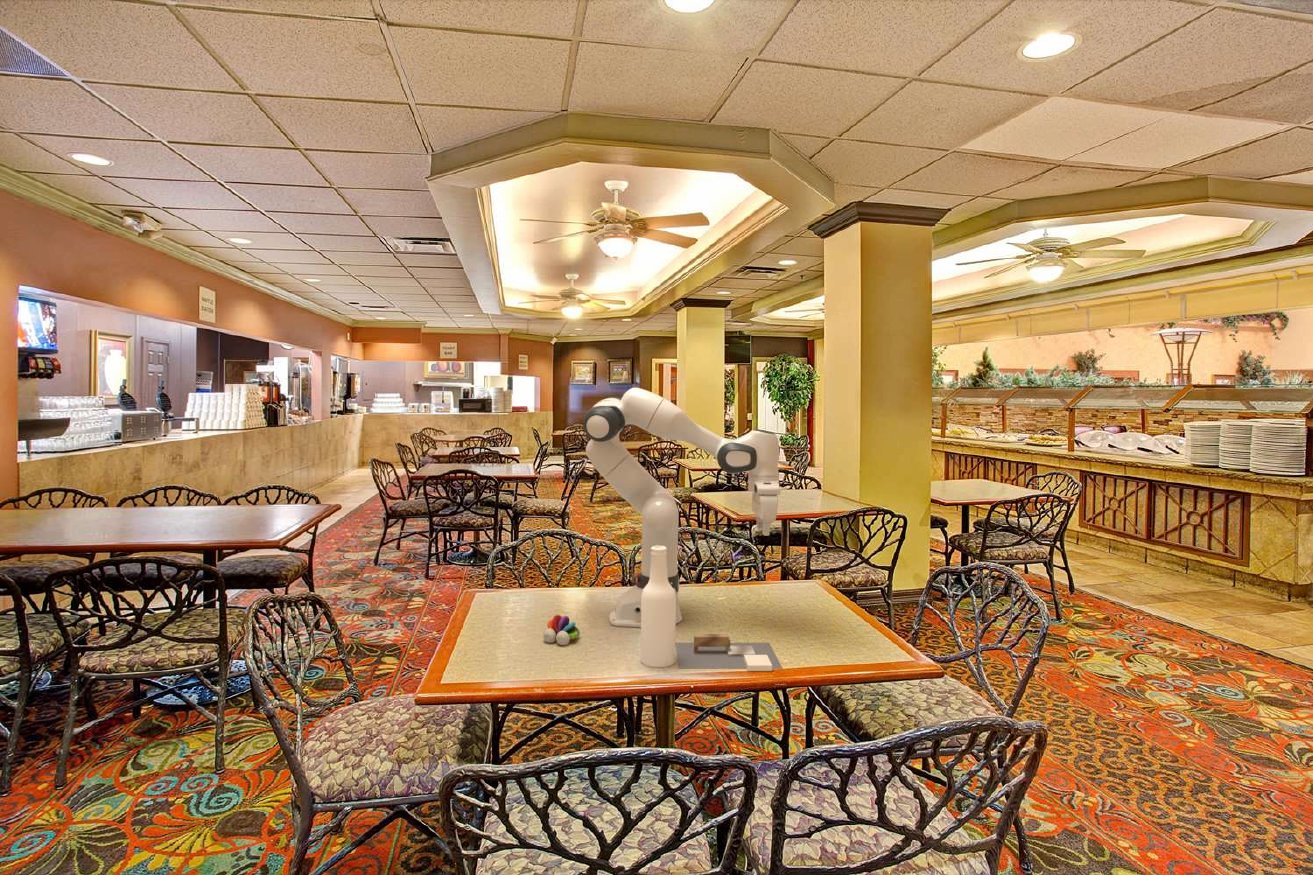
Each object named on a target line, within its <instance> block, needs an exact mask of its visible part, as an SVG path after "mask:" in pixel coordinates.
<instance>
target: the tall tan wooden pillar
mask: <svg viewBox="0 0 1313 875" xmlns="http://www.w3.org/2000/svg"><path fill="white" fill-rule="evenodd" d="M693 643H694V654H698V647H726V652H727V653H728V656H744V655H755V652H754V650H753V648H752V646H730V643H731V639H730V637H729V635H728V633H694V634H693Z"/></svg>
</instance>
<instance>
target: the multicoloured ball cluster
mask: <svg viewBox="0 0 1313 875" xmlns="http://www.w3.org/2000/svg"><path fill="white" fill-rule="evenodd" d="M546 626H547V629H545V631H544V632H543V635H542V636H543V640H544V641H545V642H546V643H548V644H552V643H554V642H557V643H558V644H559V645H560V646H567V645H569V643H570V640H577V639H578V638H579V637H580V635H581V629H580V627H579V626H578V625H577V624H576V621H572V622H570V618H569V616H568V615H563V616H561V615H559V614H555V615H554V616H553V618H552V619H551V620H550V619H549V620H548V622H547V623H546Z"/></svg>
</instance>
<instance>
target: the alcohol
mask: <svg viewBox="0 0 1313 875" xmlns="http://www.w3.org/2000/svg"><path fill="white" fill-rule="evenodd" d="M651 550H652V552H651V554H652V556H651V568H650V579H649V582H648V584H647V585H646V586H645V588H644V589H643V592H642V596H641V627H640V661H641V663H642V664H643V665H645V666H646V667H650V668H666V667H670V666H672V665H674V663H675V662H676V645H675V643H676V630H677V628H676V626H677V625H676V624H677V623H676V596H675V591H674V589H673V587H672V586H671V585H670V584H669V581H668V574H667V559H666V554H667V552H666V550H667V548H666V547H665V546H653V547H652V548H651Z"/></svg>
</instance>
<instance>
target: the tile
mask: <svg viewBox="0 0 1313 875" xmlns="http://www.w3.org/2000/svg"><path fill="white" fill-rule="evenodd" d="M744 662H745V665H746V668H747V669H746V670H747V671H748V672H772V671H773V669H772V664H771V662H770V660H769V658H768V656H767V655H744Z"/></svg>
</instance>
